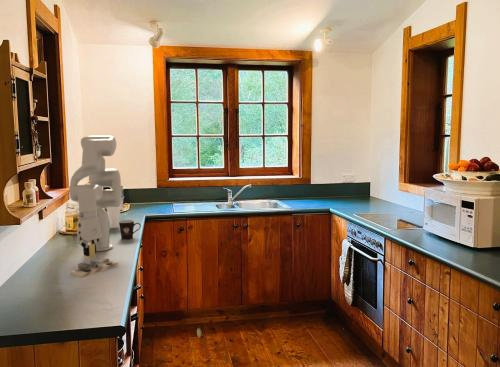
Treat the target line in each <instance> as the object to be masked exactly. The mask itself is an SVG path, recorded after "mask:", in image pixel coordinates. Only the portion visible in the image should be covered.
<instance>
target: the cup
mask: <svg viewBox="0 0 500 367" xmlns="http://www.w3.org/2000/svg"><path fill="white" fill-rule="evenodd" d="M122 201H123V200H122V198H121V203H122ZM105 209H106V213H107V214H108V221H109V225H110V228H111V229H118V228H119V227H120V226H119V221H120V216H121V209H122V204H121V205H120V206H118V207H107V208H105Z"/></svg>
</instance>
